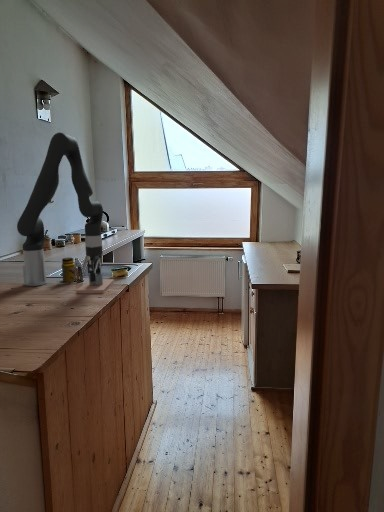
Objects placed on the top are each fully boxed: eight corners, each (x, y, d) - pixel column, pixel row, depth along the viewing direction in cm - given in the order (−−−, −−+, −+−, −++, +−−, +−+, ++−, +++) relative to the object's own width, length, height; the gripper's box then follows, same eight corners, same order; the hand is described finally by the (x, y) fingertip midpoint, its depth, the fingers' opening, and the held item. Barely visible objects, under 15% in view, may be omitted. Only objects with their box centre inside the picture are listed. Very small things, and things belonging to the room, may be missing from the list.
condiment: (78, 282, 180) (76, 258, 178) (60, 284, 175) (58, 260, 173) (74, 279, 186) (72, 256, 184) (57, 281, 181) (55, 258, 179)
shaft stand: (76, 293, 160) (75, 279, 159) (90, 282, 179) (89, 269, 177) (103, 293, 160) (102, 279, 158) (114, 282, 178) (113, 269, 177)
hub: (87, 286, 166) (87, 275, 165) (92, 282, 172) (91, 272, 171) (100, 286, 166) (100, 275, 165) (104, 282, 172) (103, 272, 171)
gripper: (90, 242, 173) (92, 275, 176) (80, 247, 159) (83, 283, 162) (106, 242, 172) (107, 275, 175) (97, 247, 158) (99, 283, 161)
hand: (95, 279), depth 168 cm, fingers open, 8 cm apart
